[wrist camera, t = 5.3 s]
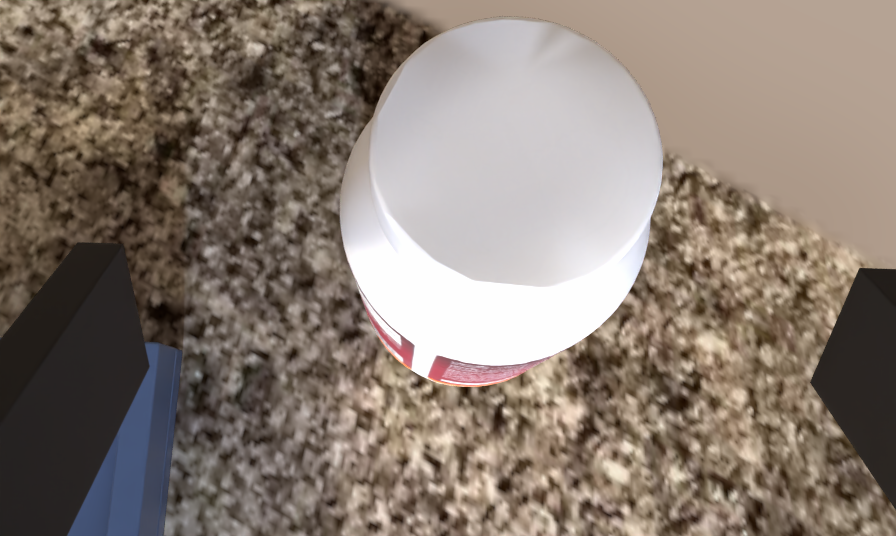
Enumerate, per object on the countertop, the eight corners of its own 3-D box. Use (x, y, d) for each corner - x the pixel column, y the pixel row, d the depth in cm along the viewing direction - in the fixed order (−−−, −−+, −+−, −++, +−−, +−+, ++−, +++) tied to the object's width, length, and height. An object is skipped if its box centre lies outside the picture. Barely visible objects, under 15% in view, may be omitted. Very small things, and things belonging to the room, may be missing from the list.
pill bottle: (596, 237, 22) (770, 64, 12) (520, 422, 21) (638, 419, 10) (414, 157, 23) (422, -85, 12) (327, 335, 21) (248, 244, 11)
